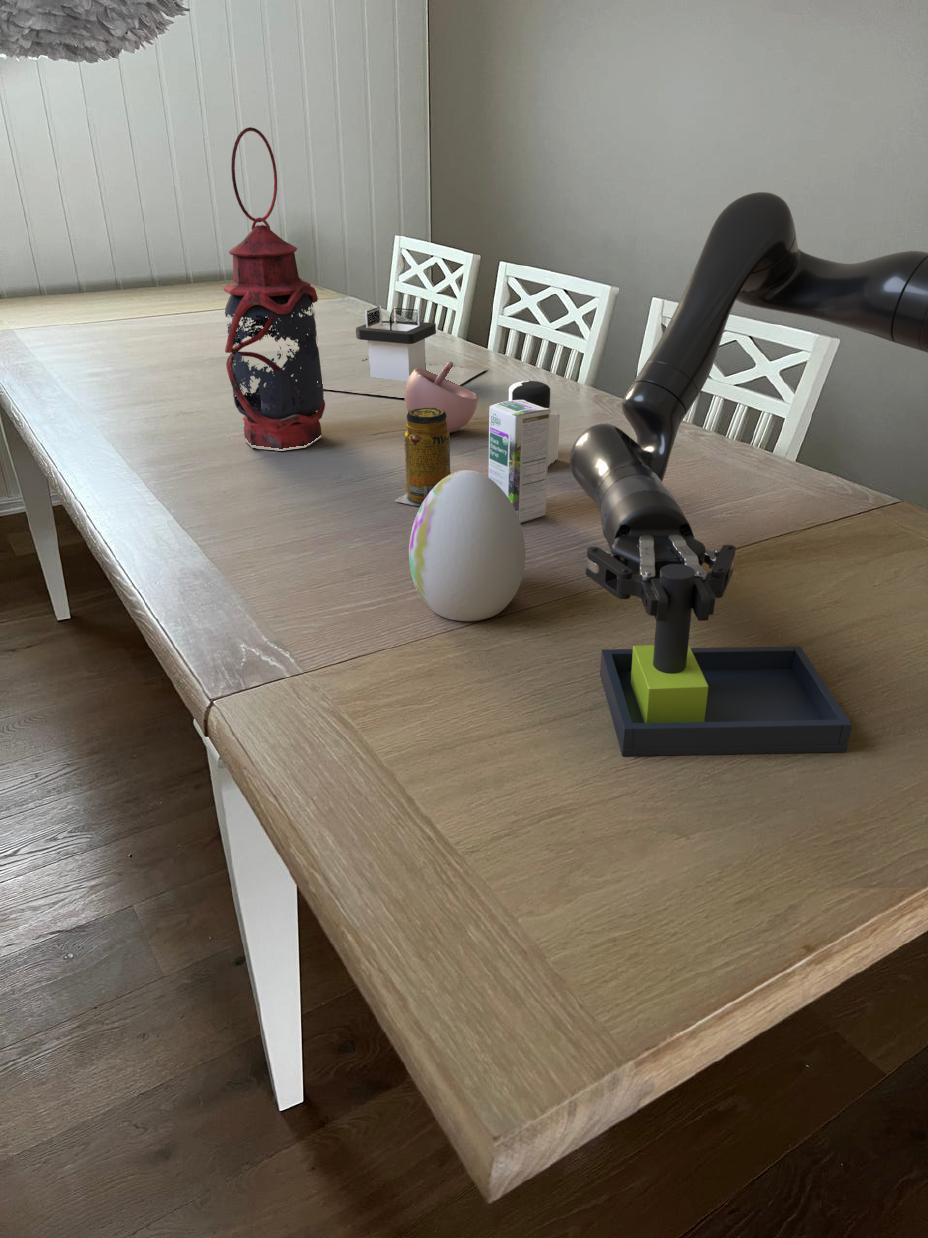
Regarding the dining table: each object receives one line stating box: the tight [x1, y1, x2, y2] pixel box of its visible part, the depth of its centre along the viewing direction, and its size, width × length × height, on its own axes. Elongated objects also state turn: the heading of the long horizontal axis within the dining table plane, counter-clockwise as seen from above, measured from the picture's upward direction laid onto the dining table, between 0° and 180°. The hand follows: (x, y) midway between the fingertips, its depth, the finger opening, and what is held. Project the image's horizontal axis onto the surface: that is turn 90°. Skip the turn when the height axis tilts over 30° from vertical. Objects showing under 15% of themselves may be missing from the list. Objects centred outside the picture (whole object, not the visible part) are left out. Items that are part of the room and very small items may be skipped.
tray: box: [599, 645, 853, 757], centre depth 81 cm, size 19×13×3 cm
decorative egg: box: [408, 469, 526, 622], centre depth 96 cm, size 12×12×15 cm
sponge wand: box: [631, 564, 708, 723], centre depth 78 cm, size 5×7×13 cm
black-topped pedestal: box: [355, 305, 437, 381], centre depth 181 cm, size 28×26×13 cm
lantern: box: [222, 126, 326, 449], centre depth 140 cm, size 16×15×45 cm
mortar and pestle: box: [404, 361, 479, 434], centre depth 151 cm, size 12×12×12 cm
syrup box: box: [487, 400, 551, 524], centre depth 118 cm, size 6×6×14 cm
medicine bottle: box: [508, 380, 561, 467], centre depth 137 cm, size 7×7×12 cm
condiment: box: [394, 407, 452, 507], centre depth 124 cm, size 7×8×12 cm
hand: (684, 610), depth 74 cm, fingers closed on sponge wand, 3 cm apart
